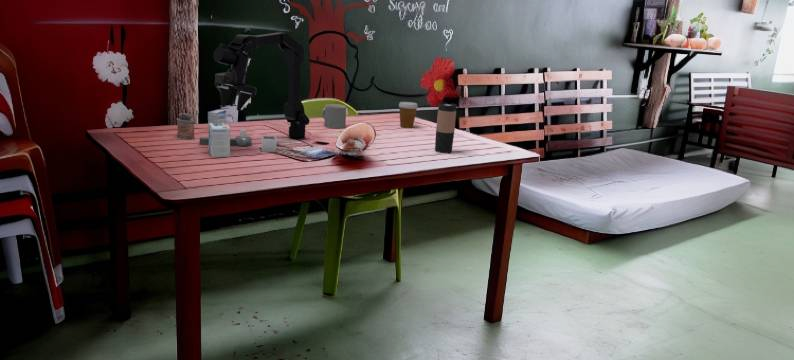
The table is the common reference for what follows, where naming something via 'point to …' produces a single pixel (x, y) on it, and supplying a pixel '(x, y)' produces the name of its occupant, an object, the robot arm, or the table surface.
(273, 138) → the socket
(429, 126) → the table surface
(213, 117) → the medicine box
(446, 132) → the travel mug
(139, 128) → the table surface
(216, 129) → the light bulb box
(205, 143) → the ratchet
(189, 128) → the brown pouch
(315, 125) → the table surface
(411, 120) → the disposable coffee cup
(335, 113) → the coffee mug
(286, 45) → the robot arm
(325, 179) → the table surface
